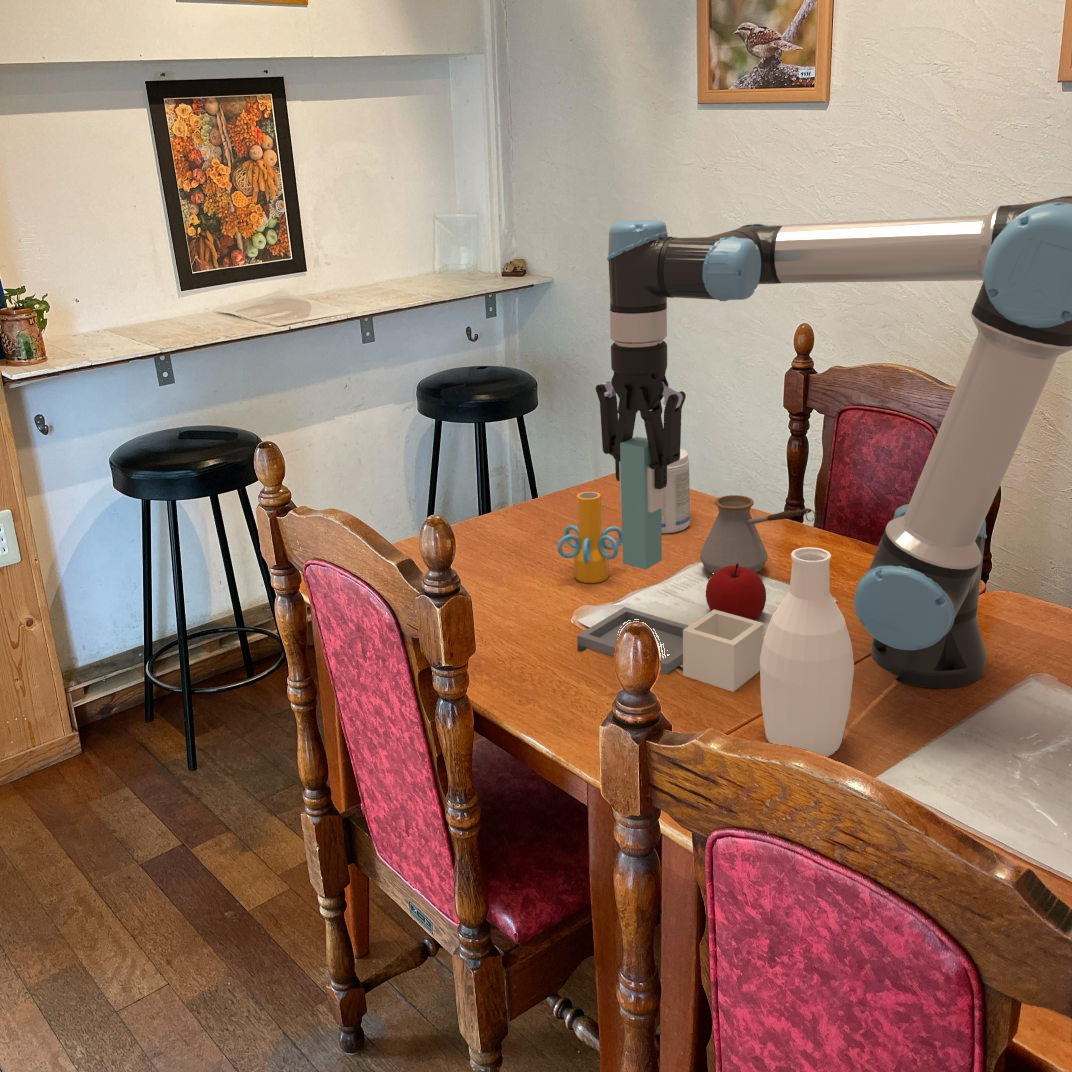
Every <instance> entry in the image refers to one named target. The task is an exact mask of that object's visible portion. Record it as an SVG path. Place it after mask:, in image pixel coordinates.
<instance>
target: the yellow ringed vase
mask: <svg viewBox="0 0 1072 1072" xmlns="http://www.w3.org/2000/svg"><path fill="white" fill-rule="evenodd" d="M601 500H602V498H601V493H599V492H597V491H583V492H579V493H578V494H576V505H577V506H576V510H577V525H573V524H570V525H567V526H565V529H564V534H563V535H564V536H563V537H562V536H561V538H560V540H559V541H558V543H557V552H558V554H559V555H560V556H561V557H562V558H563V559H571V558H573V568H574V569H573V570H574V571H573V572H574V578H575V580H576V581H578V582H580V583H584V584H597V583H601V582H604V581H606V580H608V579H609V575H610V567H609V566H610V565H609V563H610V562H609V560H614V559H615V558H617V556H618V554H619V547H620V546H621V544H622V528H620V527H618V526H615V525H614V526H613V525H612V526H608V527H606V528H605V529H604V530H603V529H602V528H603V526H602V501H601ZM571 530H573V531H575V532H576V534H577V535H576V534H570V531H571ZM602 530H603V531H602ZM610 532H617V535H618V539H617V540H616V539H615V538H614V537H612V536H611V535H609V533H610ZM572 540H573V541H574V542H575V543H574V542H573V541H572ZM606 540H607V541H609V542H610V543H611V544H612V545H610V544H607V543H606ZM565 542H566V544H567V545H568V546H569V547H570V548H572V549H574V550H573V551H572V552H571V553H565V552H564V551H563V545H564V544H565ZM607 550H610V551H612V550H613V552H612V554H609V553H608V551H607Z"/></svg>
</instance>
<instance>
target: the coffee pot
mask: <svg viewBox="0 0 1072 1072" xmlns="http://www.w3.org/2000/svg"><path fill="white" fill-rule="evenodd" d="M754 503H755V501H754V499H752V498H751V497H749V496H746V495H739V494H738V495H736V494H735V495H734V494H731V495H724V496H721V497H718V498H716V499H715V502H714V504H715V506H716V507H717V510H718V513H717V516H716V518H715V520H714V523H713V524H712V527H711V528H710V531H709V533H708V535H707V538H706V540H705V542H704V544H703V546H702V548H701V550H700V554H699V558H700V560H701V563H702V565H703V566H704V567H705V569H707V571H709V572H710V573H711V572H712V573H714V574H715V573H716V572H717V571H718V570H720V569H722V568H724V567H727V566H733V565H734V566H736V564H738V565H739V567H745V568H748V569H750V570H752V571H754V572H756V573H757V574H758V572H759V571H760V570H762V569H763V568H764V567H765V565H766V564H767V561H768V552H767V551H766V548H765V545H764V543H763V541H762V539H761V536H760V533H759V531H758V529H757V527H756V524H759V523H763V522H769V521H770V522H771V521H778V520H786V519H790V518H793V517H796V516H797V517H801V516H802V515H805V519H806V521H808V522H813V521H814V520H815V519H816V512H815V511H814V510H813V509H811V508H803V509H801V508H797V509H796V510H784V511H780V512H777V513H773V514H769V515H767V516H762V517H761V516H760V517H755V518H754V517H753V518H752V515H751V513H750V511H751V509H752V506H754ZM811 512H812V513H813V519H812V520H810V519H808V515H807V514H809V513H811ZM712 573H711V574H712Z"/></svg>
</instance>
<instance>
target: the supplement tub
mask: <svg viewBox="0 0 1072 1072" xmlns="http://www.w3.org/2000/svg"><path fill="white" fill-rule="evenodd" d="M689 460H690V459H689V453H688V451H686V450H685V449H683V448H681V447H680V459H679V460H678V461H676V462H674V463H672V464H669V465H667V485H666V487H664V488H663V507H662V508H661V534H674V533H678V532H680V531H684V530H685V529H687V528H688V527H689V525H690V523H691V501H690V499H691V497H690V496H691V495H690V494H691V492H690V489H691V488H690V461H689Z"/></svg>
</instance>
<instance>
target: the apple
mask: <svg viewBox="0 0 1072 1072" xmlns="http://www.w3.org/2000/svg"><path fill="white" fill-rule="evenodd" d="M705 598H706V599H705V600H706V604H707V606H708V608H709V610H710V612H711V611H712V610H718V611H722V612H725V613H729V614H733V615H736V616H740V617H743V618H747V619H751V620H754V621H757V619H759V617H760V616H761V615H762V613H763V611H764V609H765V607H766V601H767V591H766V586H765V583H764V581H763V579H762V578H761V577H760V575H759V573H758V572H757V573H756V572H754V571H752V570H750V569H748V568H745V567H739V565H738V564H736V566H734V565H733V566H727V567H724V568H722V569H720V570H718V571H717V572H716V573H715V574H711V576H710V578H709V579H708V581H707V584H706V588H705Z"/></svg>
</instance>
